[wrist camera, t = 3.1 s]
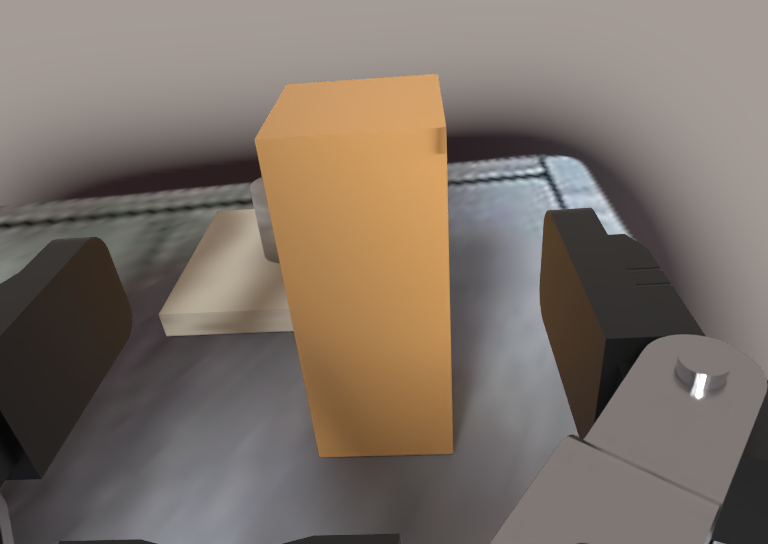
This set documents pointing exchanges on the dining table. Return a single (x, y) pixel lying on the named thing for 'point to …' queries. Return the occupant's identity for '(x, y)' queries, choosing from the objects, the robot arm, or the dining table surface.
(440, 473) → the dining table surface
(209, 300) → the stub plate
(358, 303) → the orange tall block
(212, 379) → the dining table surface
